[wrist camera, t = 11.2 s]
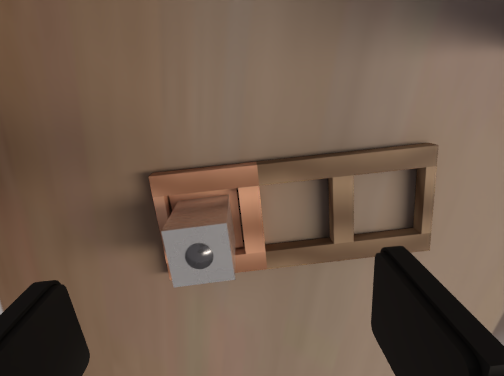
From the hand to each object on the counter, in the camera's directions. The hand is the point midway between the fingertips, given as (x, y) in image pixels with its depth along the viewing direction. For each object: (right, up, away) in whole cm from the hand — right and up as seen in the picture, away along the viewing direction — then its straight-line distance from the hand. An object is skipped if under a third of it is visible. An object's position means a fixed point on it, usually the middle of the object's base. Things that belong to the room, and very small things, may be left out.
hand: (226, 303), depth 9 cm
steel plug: (-4, 0, +21) cm, 21 cm away
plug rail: (+5, +1, +22) cm, 22 cm away
